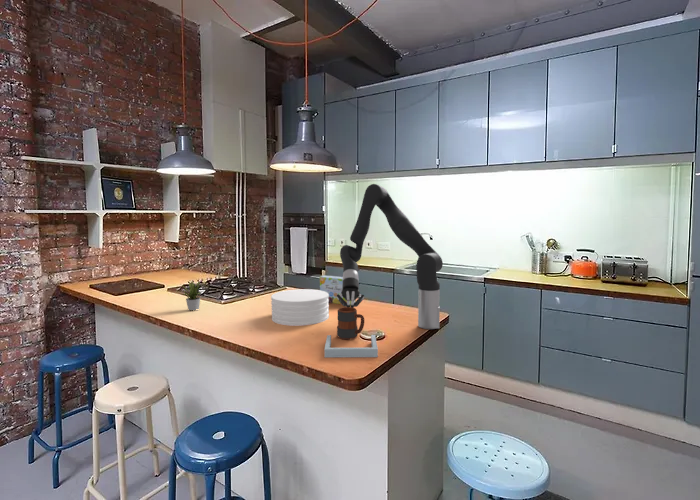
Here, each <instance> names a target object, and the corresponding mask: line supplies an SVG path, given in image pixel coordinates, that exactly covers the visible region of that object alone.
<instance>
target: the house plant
mask: <svg viewBox="0 0 700 500" xmlns="http://www.w3.org/2000/svg"><path fill="white" fill-rule="evenodd" d="M204 283H206V281H203V282H202V283H201V280H200V281H199V282H197V283H195V282H194V281H193V280H189V282H188V286H189V290H188V288H186V287H185V286H184V285H182V284H181V286H182V287H183V288H184V289H185V290H183V292H184V293H182V295H183V296H185V297H187V298H186V300H185V301H186V306H187V310H188V309H189V310H196V309H199V310H200V304H201V297H200V295H201V293H202V292H203V293H205V289H204V290H200V289H201V288H202V287H203V286H205V284H204ZM189 310H188V311H189Z"/></svg>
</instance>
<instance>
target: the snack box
mask: <svg viewBox="0 0 700 500" xmlns="http://www.w3.org/2000/svg"><path fill="white" fill-rule="evenodd" d="M342 280H343V276H336V275H325V274H324V275H321V276H319V290H321V291H325V292H327V293H328V294H329V297H328V299H329V302H328V304H334V305H342V304H341V303H340V302H339V300H338V299H337V294H341V292H342V284H343V281H342ZM342 298H343V300H344V301H345V302H346V303H347V300H345V299H344V297H343V296H342ZM356 301H357V299H356V300H354V303H355V302H356ZM350 306H351V301H350Z"/></svg>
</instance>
